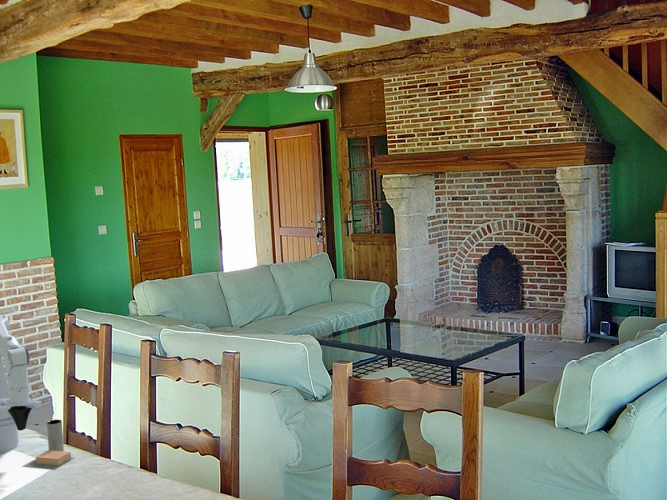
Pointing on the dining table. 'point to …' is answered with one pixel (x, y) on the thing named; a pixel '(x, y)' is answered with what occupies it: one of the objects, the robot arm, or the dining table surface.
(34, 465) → the mat
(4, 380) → the robot arm
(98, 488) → the dining table surface
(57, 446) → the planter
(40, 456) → the tile
